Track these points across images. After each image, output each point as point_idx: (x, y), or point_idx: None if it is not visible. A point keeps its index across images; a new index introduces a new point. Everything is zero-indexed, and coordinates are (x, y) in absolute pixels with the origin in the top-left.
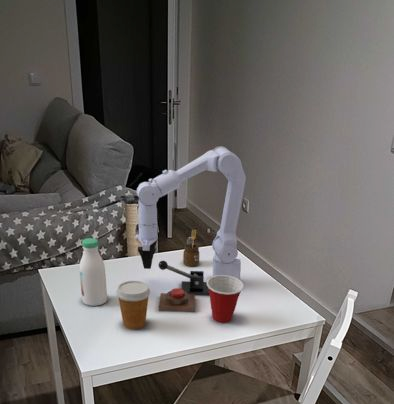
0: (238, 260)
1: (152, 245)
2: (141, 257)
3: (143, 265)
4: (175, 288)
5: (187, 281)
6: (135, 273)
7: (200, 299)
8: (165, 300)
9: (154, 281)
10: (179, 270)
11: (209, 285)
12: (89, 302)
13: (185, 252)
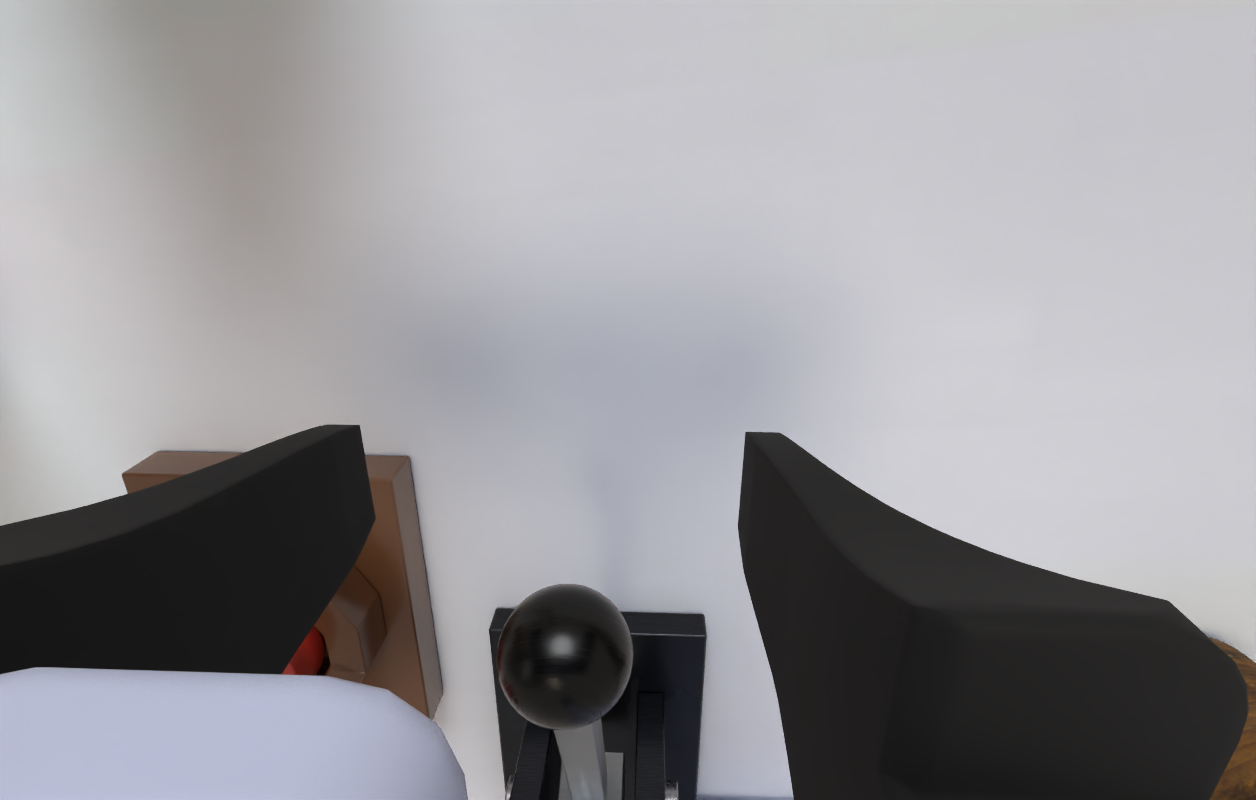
0: None
1: (805, 751)
2: (69, 516)
3: (283, 441)
4: (287, 666)
5: (700, 676)
6: (1013, 143)
7: (444, 724)
8: None
9: (770, 381)
10: (579, 758)
11: None
12: None
13: (1253, 764)
